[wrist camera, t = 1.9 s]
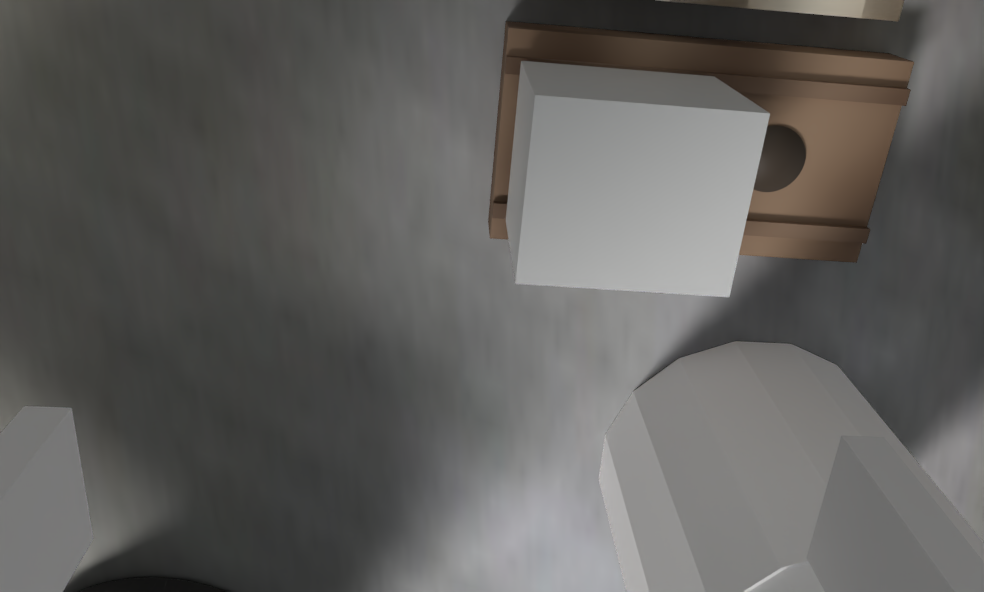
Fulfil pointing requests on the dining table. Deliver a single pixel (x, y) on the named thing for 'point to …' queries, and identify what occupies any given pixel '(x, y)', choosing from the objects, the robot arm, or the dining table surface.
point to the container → (734, 469)
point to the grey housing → (630, 179)
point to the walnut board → (789, 136)
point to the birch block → (818, 7)
